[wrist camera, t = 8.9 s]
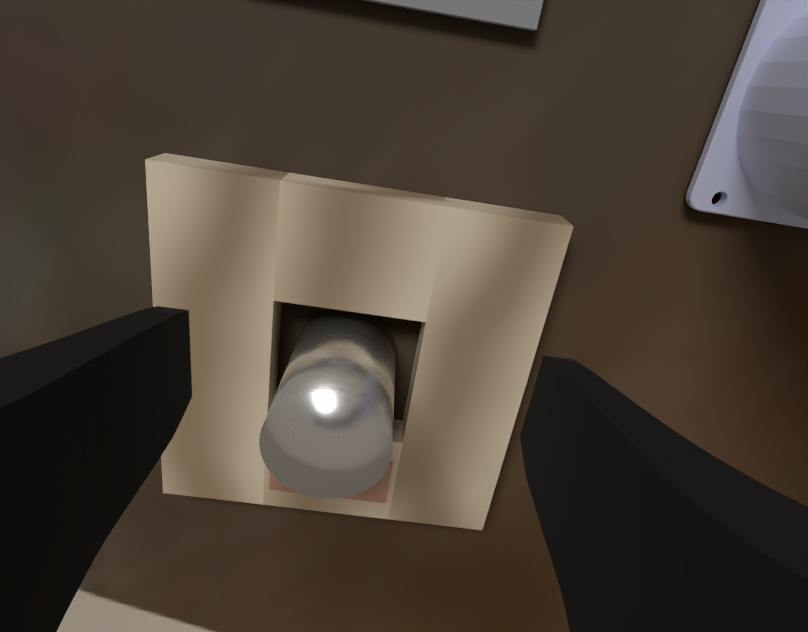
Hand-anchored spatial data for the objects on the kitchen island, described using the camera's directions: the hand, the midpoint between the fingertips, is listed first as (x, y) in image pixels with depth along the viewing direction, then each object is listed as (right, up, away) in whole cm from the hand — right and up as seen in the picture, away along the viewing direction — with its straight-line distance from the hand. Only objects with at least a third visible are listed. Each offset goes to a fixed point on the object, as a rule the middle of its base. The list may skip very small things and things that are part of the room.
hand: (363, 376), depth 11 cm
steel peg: (-2, 0, +10) cm, 11 cm away
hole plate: (-2, 0, +10) cm, 11 cm away
